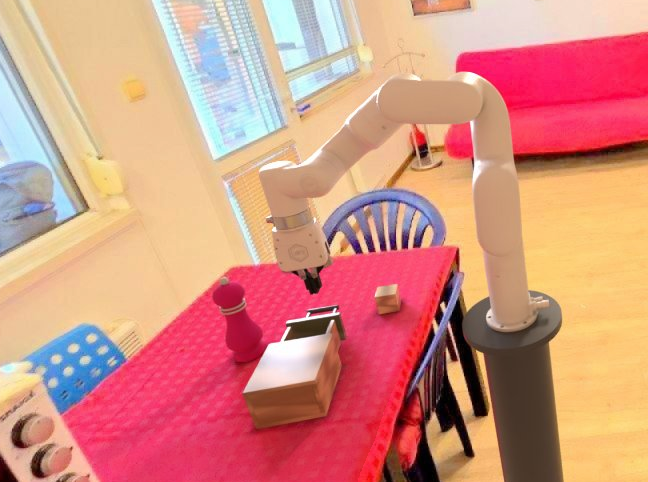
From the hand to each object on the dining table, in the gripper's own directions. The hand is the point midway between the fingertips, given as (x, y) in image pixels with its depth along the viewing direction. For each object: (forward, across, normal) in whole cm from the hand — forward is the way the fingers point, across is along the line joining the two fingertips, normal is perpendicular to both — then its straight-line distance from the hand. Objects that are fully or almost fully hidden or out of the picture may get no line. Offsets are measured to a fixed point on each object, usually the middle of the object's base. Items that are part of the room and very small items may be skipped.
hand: (315, 290), depth 119 cm
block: (+12, +13, +8) cm, 20 cm away
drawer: (+11, -1, -7) cm, 13 cm away
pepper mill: (+12, -17, -2) cm, 21 cm away
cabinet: (+12, -1, -20) cm, 24 cm away
